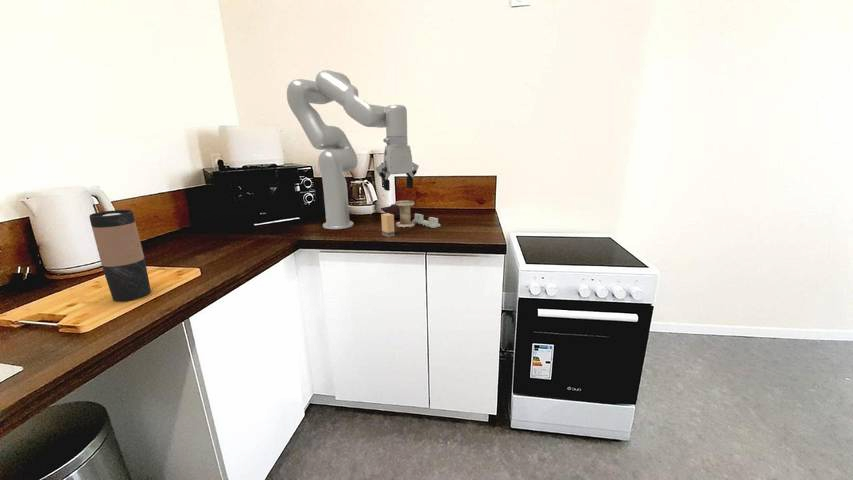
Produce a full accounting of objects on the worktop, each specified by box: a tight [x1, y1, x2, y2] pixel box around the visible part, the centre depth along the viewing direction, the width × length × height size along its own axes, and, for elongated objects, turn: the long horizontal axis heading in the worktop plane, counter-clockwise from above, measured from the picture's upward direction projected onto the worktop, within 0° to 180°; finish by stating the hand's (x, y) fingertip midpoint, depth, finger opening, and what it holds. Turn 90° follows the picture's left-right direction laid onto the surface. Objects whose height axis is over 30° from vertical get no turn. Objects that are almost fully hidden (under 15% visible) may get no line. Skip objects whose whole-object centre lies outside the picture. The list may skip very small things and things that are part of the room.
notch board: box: [412, 213, 441, 229], centre depth 152 cm, size 14×4×4 cm, turn 40°
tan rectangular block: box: [380, 213, 396, 238], centre depth 135 cm, size 4×3×8 cm
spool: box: [394, 200, 416, 229], centre depth 149 cm, size 8×8×10 cm
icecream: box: [380, 203, 400, 220], centre depth 164 cm, size 7×7×15 cm
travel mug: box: [89, 209, 152, 303], centre depth 82 cm, size 8×8×20 cm
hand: (398, 189), depth 133 cm, fingers open, 9 cm apart
